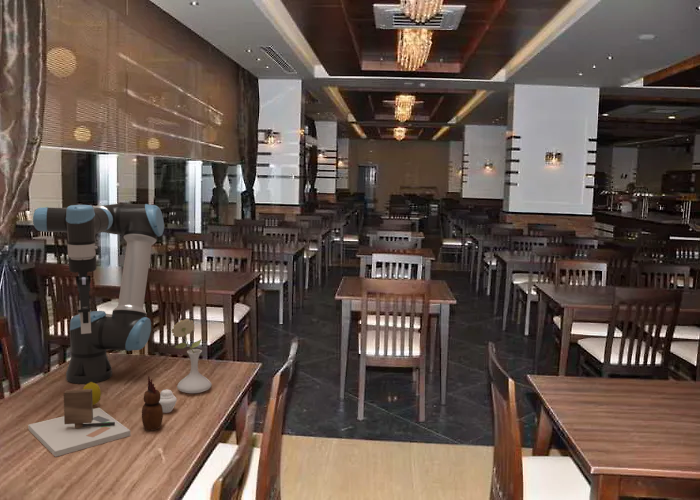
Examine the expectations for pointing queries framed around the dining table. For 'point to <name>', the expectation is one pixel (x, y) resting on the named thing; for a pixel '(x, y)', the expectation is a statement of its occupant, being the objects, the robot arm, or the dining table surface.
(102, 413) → the dial board
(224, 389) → the dining table surface
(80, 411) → the dark wooden block
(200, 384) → the flower in vase
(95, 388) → the lemon
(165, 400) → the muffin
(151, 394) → the wooden figurine
